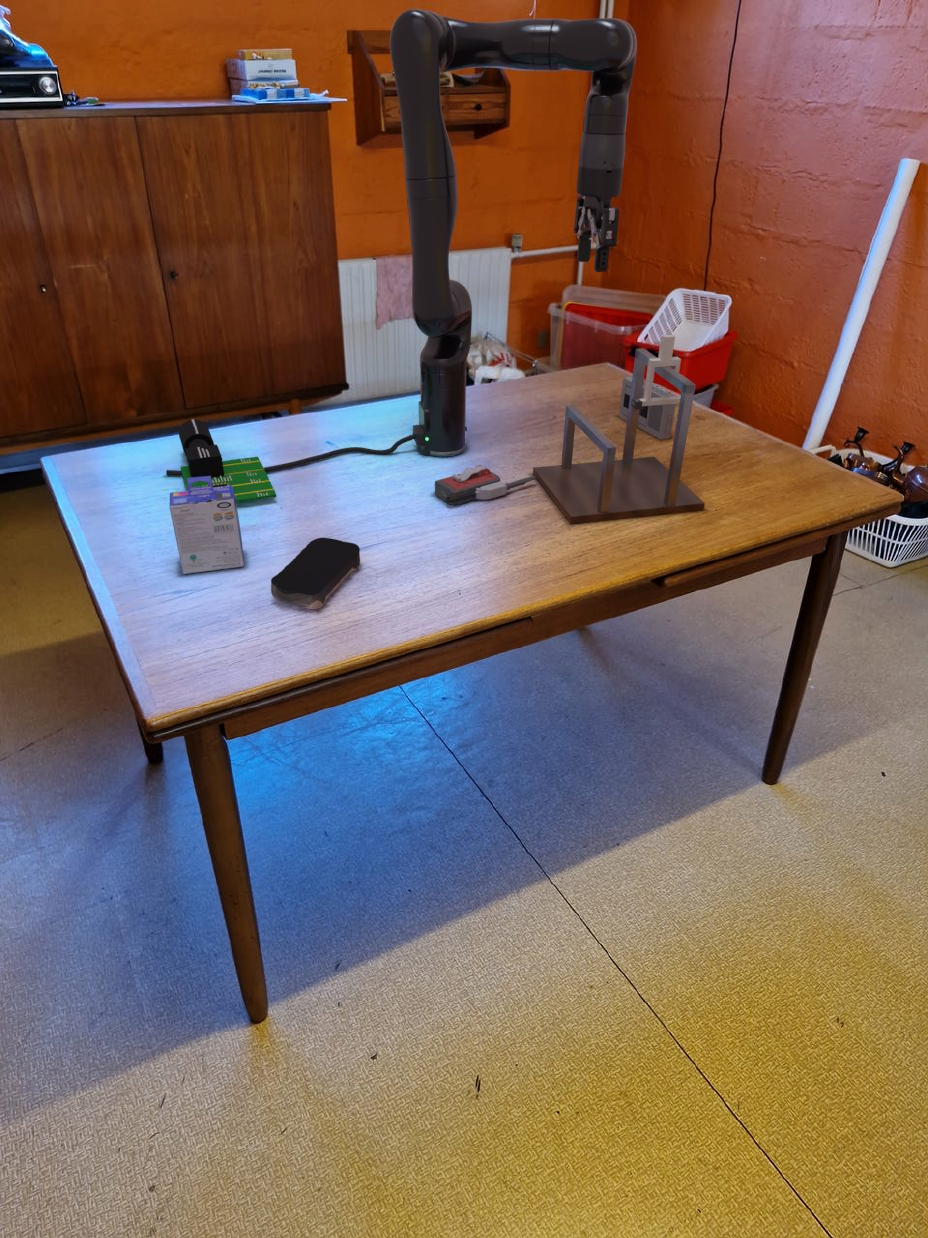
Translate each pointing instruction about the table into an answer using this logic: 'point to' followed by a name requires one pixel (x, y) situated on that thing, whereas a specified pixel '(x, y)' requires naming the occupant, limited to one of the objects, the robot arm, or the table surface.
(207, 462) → the electronic board model
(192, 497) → the ink cartridge box
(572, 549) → the table surface
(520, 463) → the table surface
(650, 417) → the cassette player
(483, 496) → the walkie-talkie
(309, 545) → the black sponge
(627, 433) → the rack
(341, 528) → the table surface
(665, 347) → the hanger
